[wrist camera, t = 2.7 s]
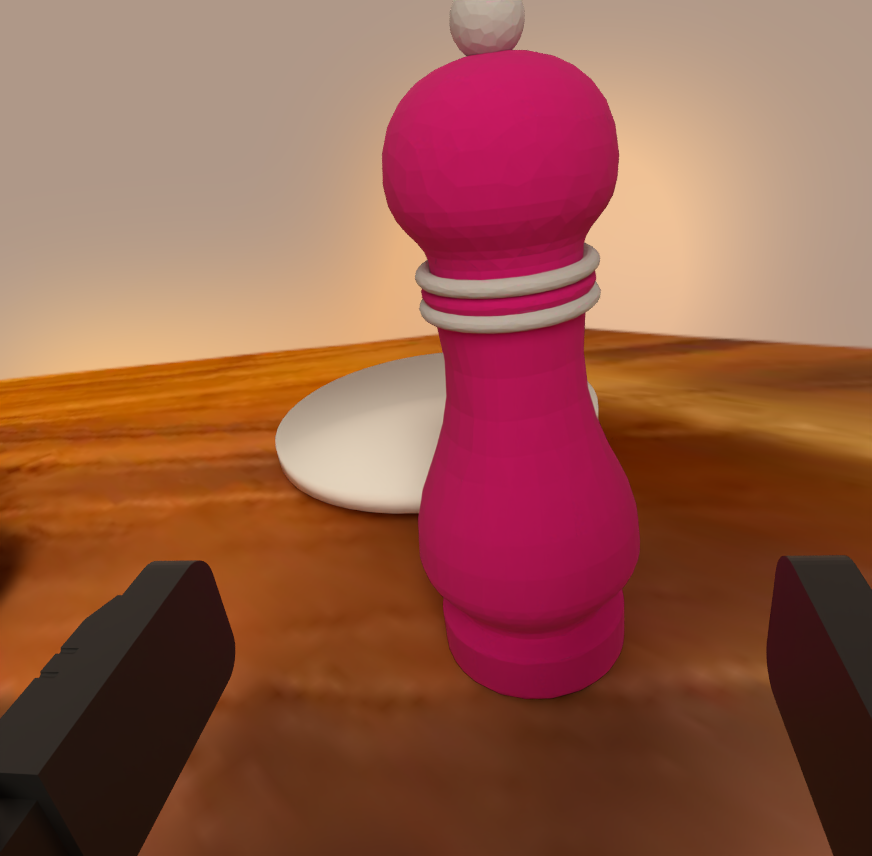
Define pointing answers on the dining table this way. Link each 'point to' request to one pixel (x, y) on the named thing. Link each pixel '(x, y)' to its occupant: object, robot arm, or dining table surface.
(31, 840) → the robot arm
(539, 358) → the pepper mill
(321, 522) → the dining table surface
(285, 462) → the plate
